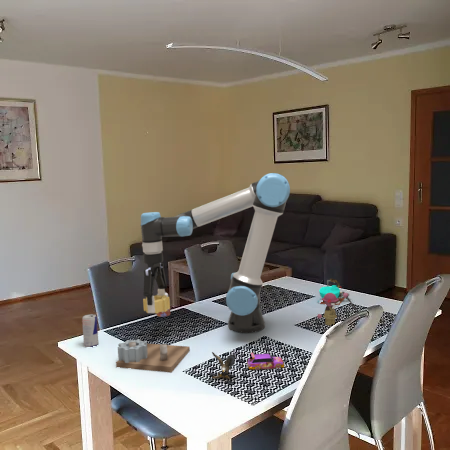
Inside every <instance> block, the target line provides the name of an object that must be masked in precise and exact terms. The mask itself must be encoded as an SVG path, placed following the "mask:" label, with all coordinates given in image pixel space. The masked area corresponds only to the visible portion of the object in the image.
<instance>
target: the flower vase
mask: <svg viewBox="0 0 450 450" xmlns="http://www.w3.org/2000/svg"><path fill="white" fill-rule="evenodd" d="M341 292H342V293H343V296H342V298H345V299H346V300H348V302H349V303H350V305H351V306H352V307H353V308H354V309H357V307H356V305H354V303H353V302H352V301H351V300H350V299H349V296H348V292H344V291H341ZM321 299H322V300H323V301H324V302H325V304H326V307H325V308H324V314H323V315H322V314H321V313H318V314H317V315H316V317H317V318H318V319H322V318H324V319H325V323H324V324H325V325H326V326H333V325H335V324H336V323H335V322H336V321H335V320H336V319H337V318H338V316H337V315H336V314H337V313H336V310H335V308H336V305H335V304H339V303H340V301H339V299H338V298H336V296H335V295H334V294H333V293H327V294H326V295H325V296H324V298H322V297H321ZM336 301H338V302H337V303H336ZM325 304H324V305H325ZM332 324H333V325H332Z"/></svg>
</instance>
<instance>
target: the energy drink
mask: <svg viewBox="0 0 450 450" xmlns="http://www.w3.org/2000/svg"><path fill="white" fill-rule="evenodd" d="M81 322H82V337H83V347H84V346H85V347H84V348H86V347H92V348H94V347H93V346H96V347H98V346H99V344H100V343H99V330H98V329H99V328H98V327H99V326H98V317H97V315H96V314H93V313H91V314H85V315H83V316H82V318H81ZM97 345H98V346H97Z"/></svg>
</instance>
